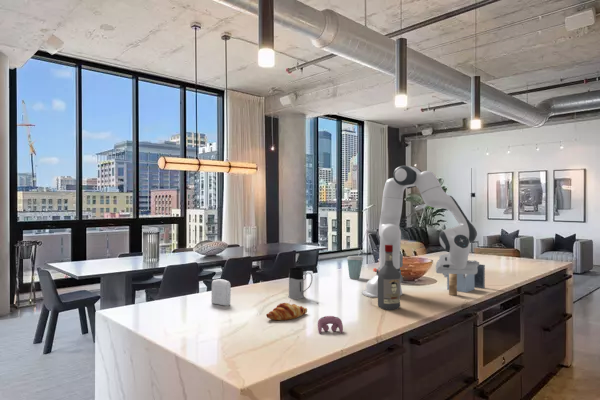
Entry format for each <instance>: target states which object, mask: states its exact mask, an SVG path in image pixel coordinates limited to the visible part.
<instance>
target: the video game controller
mask: <svg viewBox="0 0 600 400" xmlns="http://www.w3.org/2000/svg"><path fill="white" fill-rule="evenodd" d="M329 325H331V327H330V326H329ZM329 329H330V330H331V331H333V332H336V331H337V329H338V330H339V332H340V334H342V333H343V332H344V326H343V322H342V319H341V318H340V317H339V316H335V315H325V316H321V317H320V318H319V319H318V320H317V331H318V334H322V332H323V331H324V332H328V331H329Z"/></svg>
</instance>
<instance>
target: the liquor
mask: <svg viewBox="0 0 600 400" xmlns="http://www.w3.org/2000/svg"><path fill="white" fill-rule="evenodd" d="M392 252H393V245H385V265H384V266H383V267H382V268H381V270H380V271H379V272H378V297H377V306H378V308H380V309H382V310H385V309H386V310H388V311H393V310H394V311H395V310H399V308H400V307H401V295H400V283H401V282H400V273H399V271H398V270H397V269H396V268H395V267H394V266H393V258H392ZM386 310H385V311H386Z"/></svg>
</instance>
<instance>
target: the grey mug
mask: <svg viewBox="0 0 600 400" xmlns="http://www.w3.org/2000/svg"><path fill="white" fill-rule="evenodd" d="M308 274H309V275H310V276H311V281H310V284H309V285H308V287H307V288H305V289H304V287H305V286H304V284H305V283H304V281H306V278H307V277H306V276H307V275H308ZM312 283H313V274H312V273H311V272H309V271H308V272H306V273H305V274H304V268H301V267H291V268H289V269H288V299H293V300H294V299H295V300H297V299H298V300H300V299H304V298H305V294H304V293H305V292H306V291H307V290H308V289H309V288H310V287H311V285H312Z"/></svg>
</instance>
